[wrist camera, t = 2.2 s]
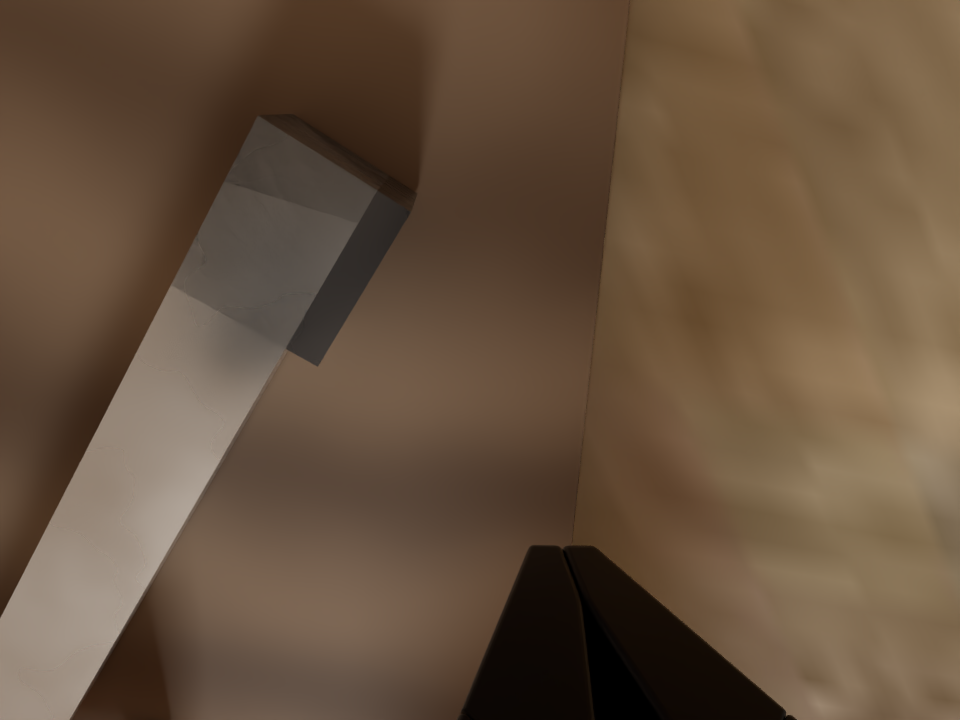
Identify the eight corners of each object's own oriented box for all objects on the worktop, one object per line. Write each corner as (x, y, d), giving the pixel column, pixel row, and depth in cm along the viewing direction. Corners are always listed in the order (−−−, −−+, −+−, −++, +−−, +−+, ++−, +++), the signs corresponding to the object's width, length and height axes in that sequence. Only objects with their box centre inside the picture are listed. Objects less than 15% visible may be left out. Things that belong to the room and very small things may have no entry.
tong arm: (115, 698, 17) (63, 789, 15) (8, 653, 16) (-64, 741, 14) (417, 193, 13) (411, 212, 11) (292, 113, 13) (257, 115, 10)
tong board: (532, 835, 21) (547, 969, 17) (-264, 839, 19) (-405, 985, 16) (646, -275, 12) (718, -417, 9) (-801, -391, 11) (-1344, -607, 7)
